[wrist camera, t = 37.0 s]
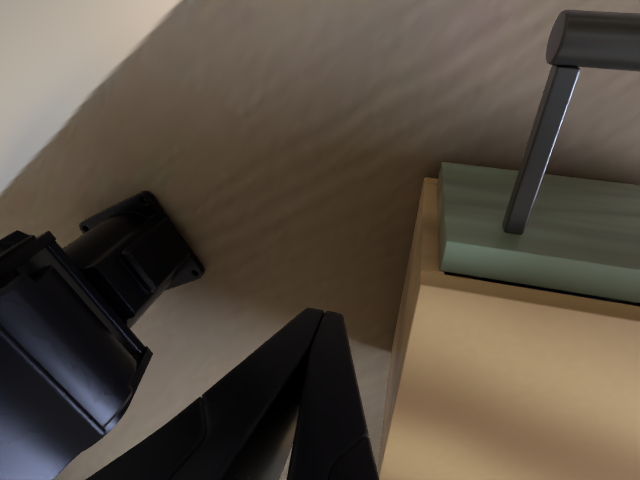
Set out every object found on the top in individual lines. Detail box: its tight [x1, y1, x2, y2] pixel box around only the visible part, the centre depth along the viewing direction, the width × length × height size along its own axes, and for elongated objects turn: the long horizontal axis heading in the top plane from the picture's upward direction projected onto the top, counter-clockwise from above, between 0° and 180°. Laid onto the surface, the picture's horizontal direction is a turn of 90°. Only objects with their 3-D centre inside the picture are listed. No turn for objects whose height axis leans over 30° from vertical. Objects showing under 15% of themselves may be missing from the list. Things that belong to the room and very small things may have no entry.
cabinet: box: [378, 177, 640, 480], centre depth 19 cm, size 13×13×9 cm
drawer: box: [437, 10, 640, 307], centre depth 16 cm, size 18×11×7 cm, turn 178°
